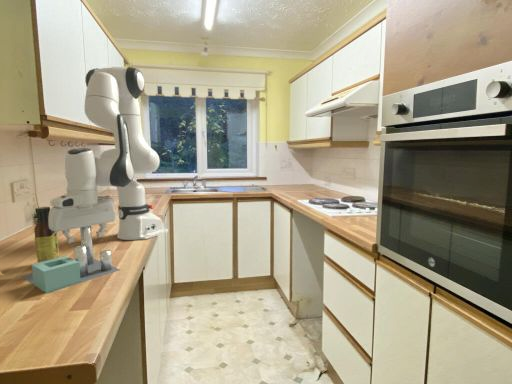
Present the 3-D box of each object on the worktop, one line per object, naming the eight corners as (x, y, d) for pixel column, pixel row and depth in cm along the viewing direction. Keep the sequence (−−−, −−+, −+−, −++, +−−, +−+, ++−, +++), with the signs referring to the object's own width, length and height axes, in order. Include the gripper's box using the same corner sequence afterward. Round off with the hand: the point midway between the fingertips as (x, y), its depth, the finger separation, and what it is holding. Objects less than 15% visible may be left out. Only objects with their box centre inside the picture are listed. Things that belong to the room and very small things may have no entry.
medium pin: (85, 272, 101) (83, 244, 99) (90, 275, 99) (88, 246, 97) (74, 276, 98) (72, 247, 97) (79, 278, 96) (76, 249, 95)
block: (67, 274, 99) (65, 255, 98) (80, 281, 94) (79, 262, 93) (33, 284, 92) (31, 264, 91) (46, 292, 87) (43, 271, 86)
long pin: (91, 261, 111) (87, 221, 109) (95, 263, 109) (92, 222, 107) (81, 264, 108) (77, 223, 106) (85, 266, 106) (82, 224, 104)
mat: (90, 258, 115) (90, 257, 115) (120, 271, 103) (120, 269, 103) (21, 277, 99) (20, 275, 98) (47, 295, 86) (46, 293, 86)
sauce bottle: (62, 265, 109) (57, 207, 106) (41, 270, 105) (35, 210, 102) (56, 260, 113) (51, 205, 111) (35, 265, 109) (29, 207, 106)
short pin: (108, 266, 105) (107, 249, 105) (113, 269, 103) (112, 250, 103) (99, 269, 103) (97, 251, 102) (104, 272, 101) (102, 253, 100)
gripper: (108, 194, 115) (111, 232, 117) (44, 201, 99) (48, 244, 101) (118, 195, 112) (120, 234, 113) (52, 203, 95) (56, 248, 97)
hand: (85, 239), depth 107 cm, fingers open, 8 cm apart
